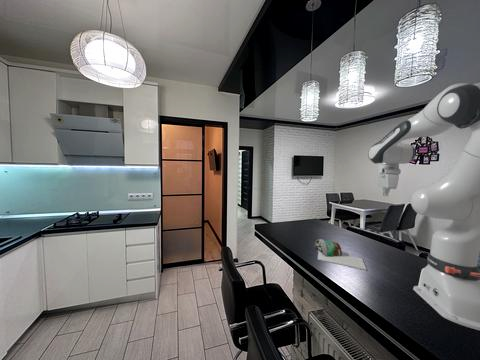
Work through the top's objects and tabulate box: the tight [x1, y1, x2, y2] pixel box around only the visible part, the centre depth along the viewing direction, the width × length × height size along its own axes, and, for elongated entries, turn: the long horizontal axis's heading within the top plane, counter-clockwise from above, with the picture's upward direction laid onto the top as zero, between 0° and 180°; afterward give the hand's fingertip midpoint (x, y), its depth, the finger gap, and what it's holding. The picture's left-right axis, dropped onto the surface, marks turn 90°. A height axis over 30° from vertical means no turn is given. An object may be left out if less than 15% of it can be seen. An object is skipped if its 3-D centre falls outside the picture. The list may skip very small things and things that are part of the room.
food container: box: [313, 238, 343, 256], centre depth 101 cm, size 12×6×10 cm
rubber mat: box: [317, 249, 367, 271], centre depth 94 cm, size 12×20×1 cm, turn 66°
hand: (385, 195), depth 104 cm, fingers closed
